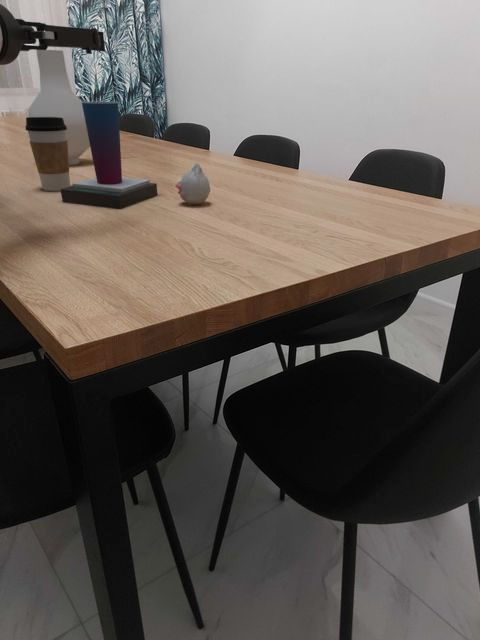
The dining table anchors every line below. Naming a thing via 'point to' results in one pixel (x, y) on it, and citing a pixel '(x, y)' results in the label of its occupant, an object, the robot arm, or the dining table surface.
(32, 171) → the dining table surface
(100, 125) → the cup
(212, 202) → the dining table surface
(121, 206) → the scale
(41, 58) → the vase
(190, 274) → the dining table surface
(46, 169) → the coffee cup
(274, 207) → the dining table surface
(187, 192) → the figurine
